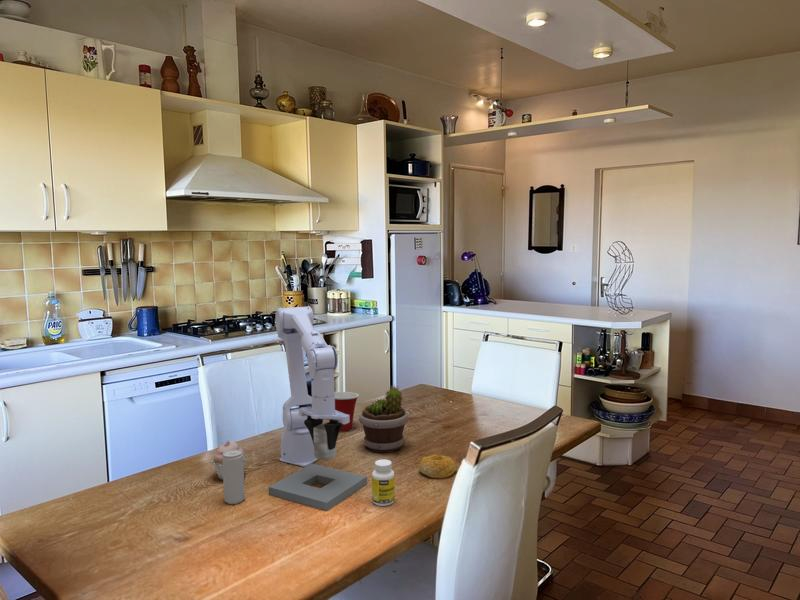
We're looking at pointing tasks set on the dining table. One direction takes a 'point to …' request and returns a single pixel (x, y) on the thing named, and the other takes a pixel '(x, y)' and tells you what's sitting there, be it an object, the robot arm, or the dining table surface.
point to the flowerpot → (384, 422)
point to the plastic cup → (346, 406)
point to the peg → (322, 444)
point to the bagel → (437, 466)
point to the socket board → (321, 498)
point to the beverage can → (233, 476)
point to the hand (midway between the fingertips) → (324, 447)
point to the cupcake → (218, 455)
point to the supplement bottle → (383, 483)
